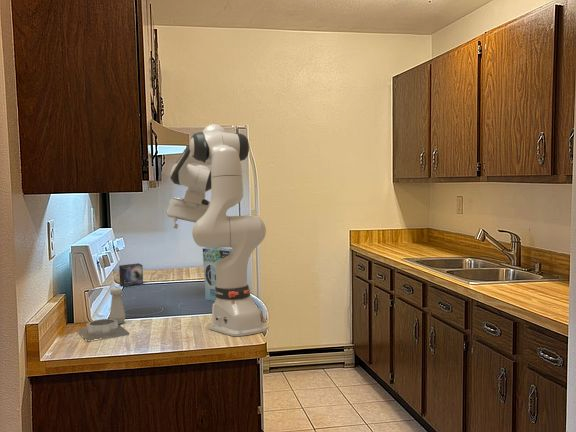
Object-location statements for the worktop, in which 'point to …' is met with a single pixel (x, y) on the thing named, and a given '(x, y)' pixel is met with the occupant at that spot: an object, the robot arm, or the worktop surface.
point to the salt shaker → (117, 306)
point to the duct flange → (102, 329)
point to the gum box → (212, 268)
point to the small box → (131, 274)
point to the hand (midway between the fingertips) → (185, 230)
